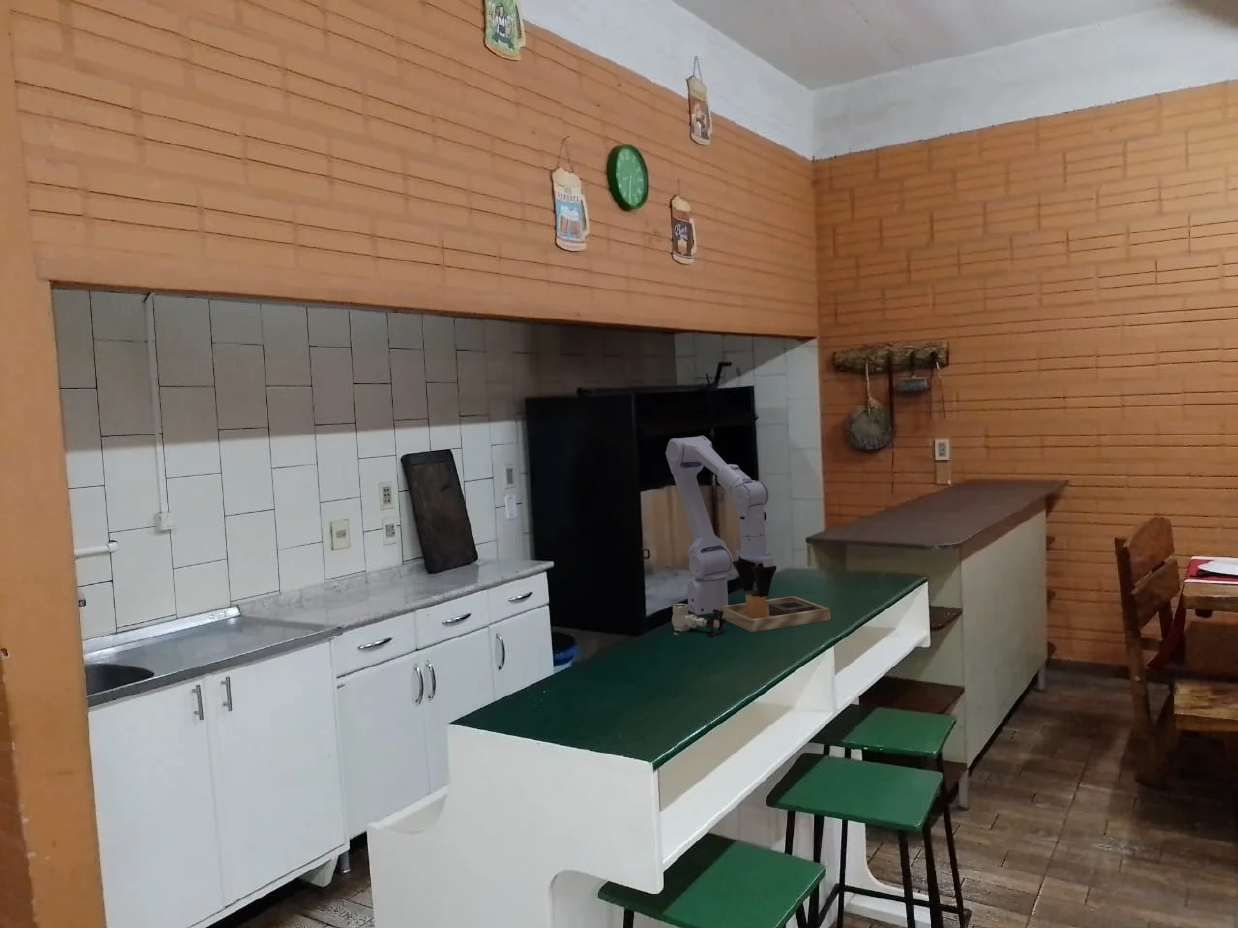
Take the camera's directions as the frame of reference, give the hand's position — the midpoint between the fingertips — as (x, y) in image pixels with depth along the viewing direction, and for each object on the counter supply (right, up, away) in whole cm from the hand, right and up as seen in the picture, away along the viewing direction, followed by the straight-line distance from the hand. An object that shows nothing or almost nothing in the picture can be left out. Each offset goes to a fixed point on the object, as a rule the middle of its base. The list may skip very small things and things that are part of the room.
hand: (755, 593), depth 213 cm
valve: (-14, -9, -5) cm, 17 cm away
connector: (0, -6, +1) cm, 7 cm away
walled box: (+5, -7, +2) cm, 9 cm away
